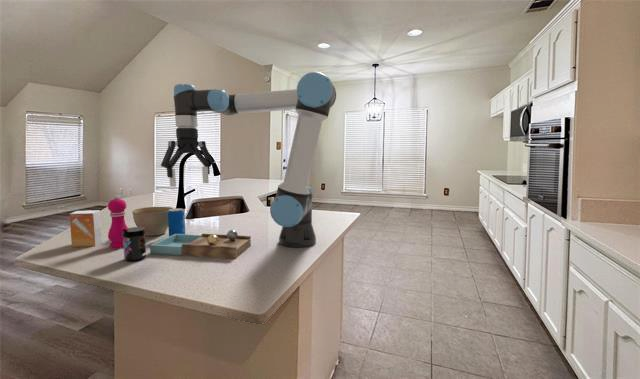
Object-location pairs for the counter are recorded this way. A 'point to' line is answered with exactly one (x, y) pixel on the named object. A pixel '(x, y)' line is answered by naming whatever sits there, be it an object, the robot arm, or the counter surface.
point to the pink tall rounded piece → (117, 222)
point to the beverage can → (176, 221)
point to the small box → (85, 228)
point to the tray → (172, 244)
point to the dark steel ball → (232, 235)
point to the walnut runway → (217, 247)
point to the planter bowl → (152, 219)
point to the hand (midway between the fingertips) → (190, 184)
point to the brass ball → (212, 240)
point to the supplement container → (134, 244)
